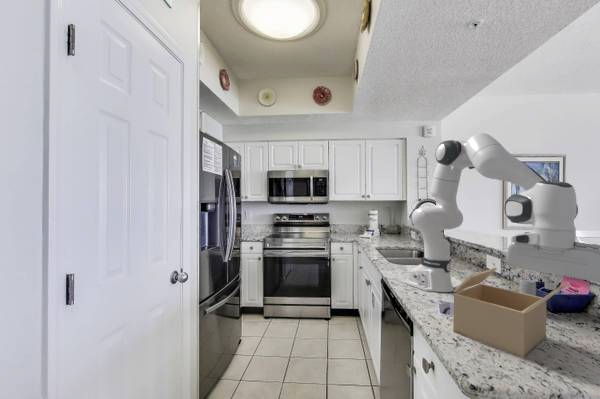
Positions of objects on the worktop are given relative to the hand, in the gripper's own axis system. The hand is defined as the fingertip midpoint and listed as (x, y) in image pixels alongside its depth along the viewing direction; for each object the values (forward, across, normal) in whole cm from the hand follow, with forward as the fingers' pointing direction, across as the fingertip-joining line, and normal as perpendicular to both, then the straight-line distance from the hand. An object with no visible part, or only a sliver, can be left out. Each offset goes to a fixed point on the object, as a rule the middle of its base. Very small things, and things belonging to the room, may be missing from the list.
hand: (551, 289), depth 76 cm
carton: (+18, +12, 0) cm, 21 cm away
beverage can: (+18, +13, -30) cm, 37 cm away
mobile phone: (+19, +31, -8) cm, 37 cm away
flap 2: (+2, +1, 0) cm, 2 cm away
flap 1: (+2, +19, 0) cm, 19 cm away
